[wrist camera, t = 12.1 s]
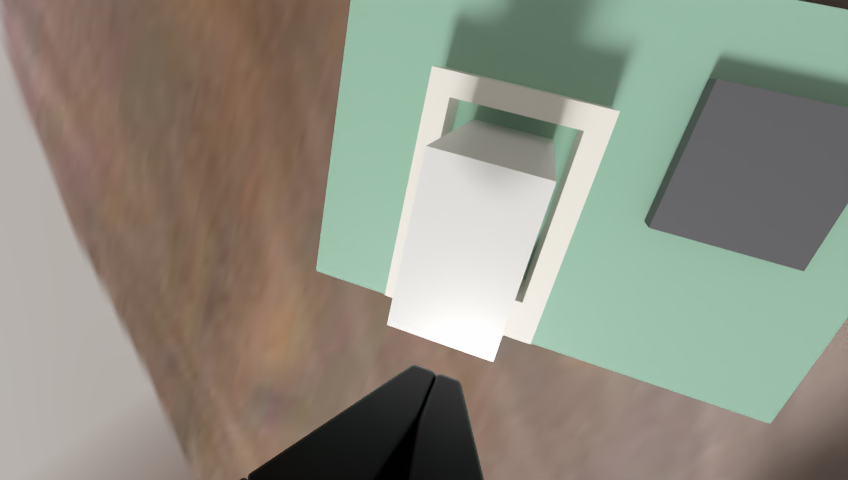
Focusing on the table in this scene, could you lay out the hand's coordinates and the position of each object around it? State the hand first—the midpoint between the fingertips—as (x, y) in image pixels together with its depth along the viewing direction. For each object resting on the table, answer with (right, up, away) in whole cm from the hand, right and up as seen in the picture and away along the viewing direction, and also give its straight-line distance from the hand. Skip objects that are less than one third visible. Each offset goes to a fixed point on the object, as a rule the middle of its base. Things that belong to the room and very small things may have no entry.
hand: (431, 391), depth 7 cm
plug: (+3, +4, +9) cm, 11 cm away
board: (+6, +5, +9) cm, 12 cm away
